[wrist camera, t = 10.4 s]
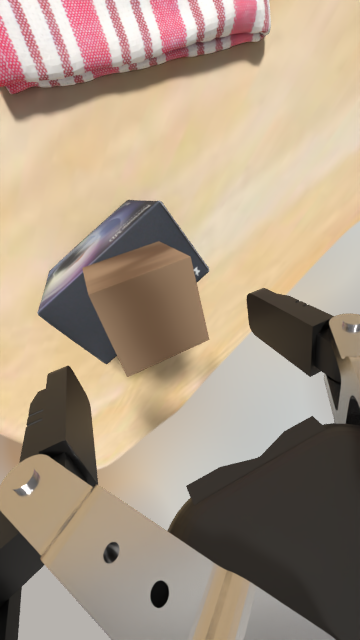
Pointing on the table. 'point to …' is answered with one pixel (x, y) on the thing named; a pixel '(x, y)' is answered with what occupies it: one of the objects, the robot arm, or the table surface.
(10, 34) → the dish towel
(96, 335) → the small box
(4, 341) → the table surface
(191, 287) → the walnut block
